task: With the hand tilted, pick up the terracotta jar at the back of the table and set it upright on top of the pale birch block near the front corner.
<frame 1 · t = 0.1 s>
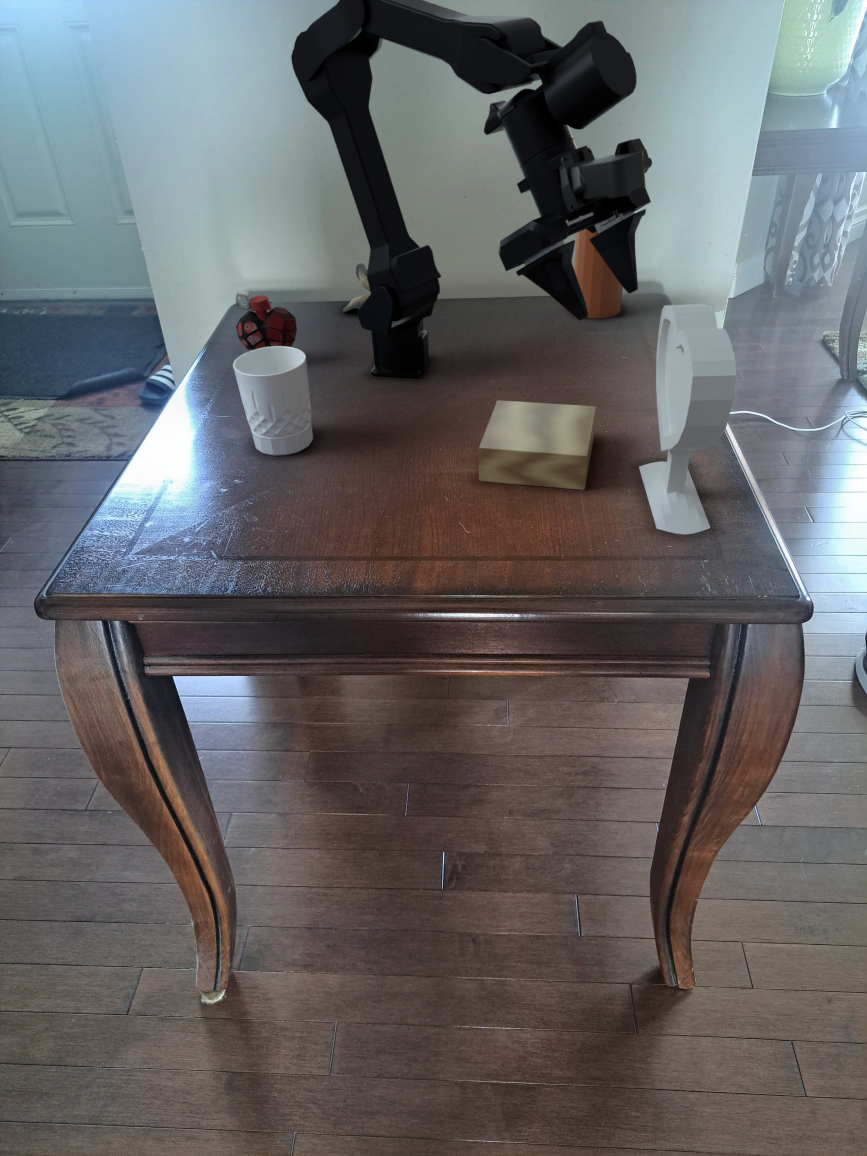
hand: (609, 304, 85), 15 cm above the table, tool tilted 35°, fingers open, 9 cm apart
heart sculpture: (672, 497, 83), on the table
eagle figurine: (372, 311, 129), on the table
white cup: (284, 443, 96), on the table
birch block: (538, 459, 90), on the table
jar: (596, 309, 124), on the table
grenade: (273, 364, 114), on the table
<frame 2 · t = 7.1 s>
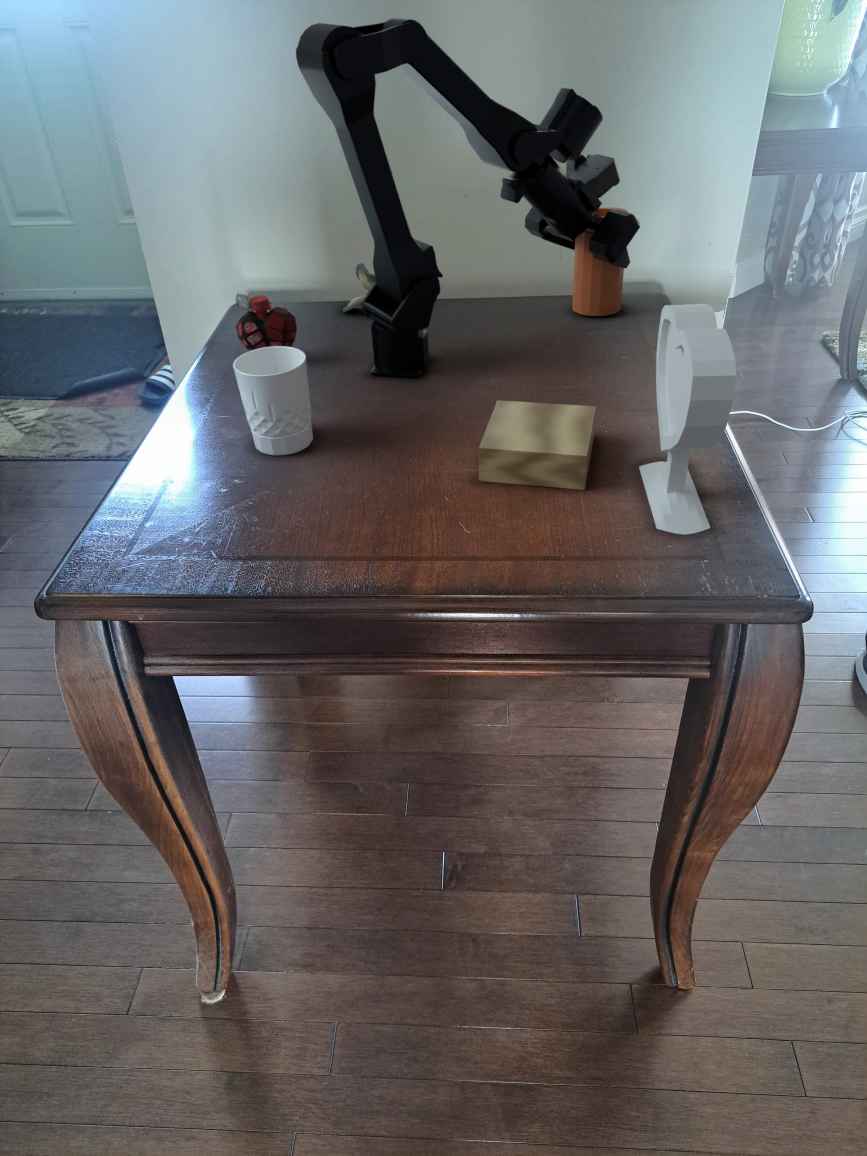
hand: (608, 258, 121), 7 cm above the table, tool tilted 45°, fingers closed on jar, 8 cm apart
jar: (596, 308, 124), on the table, touching gripper
everything else where it was.
when the fingers open (11 cm above the table, at t = 18.6 s): jar stays where it is, resting on birch block.
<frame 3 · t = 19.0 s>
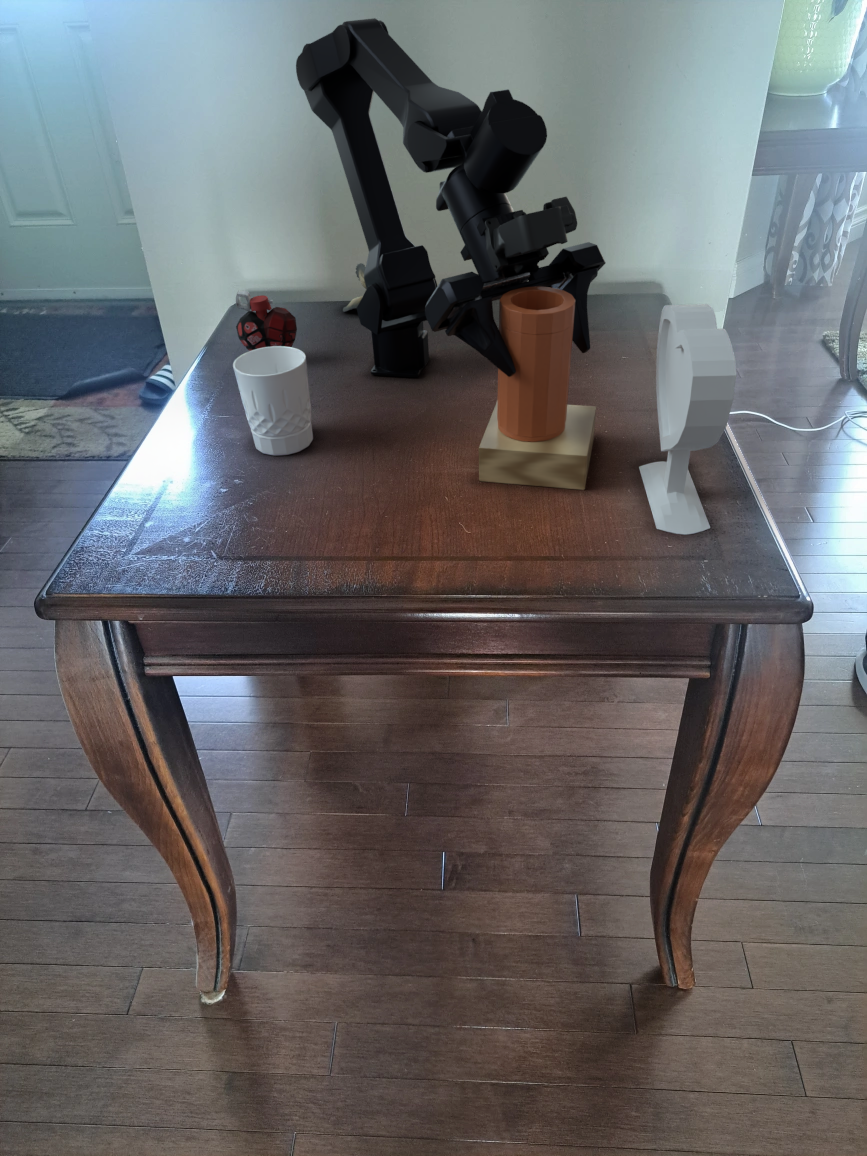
hand: (550, 362, 82), 12 cm above the table, tool tilted 45°, fingers open, 9 cm apart
jar: (531, 425, 88), point 4 cm above the table, touching birch block, gripper
everything else where it was.
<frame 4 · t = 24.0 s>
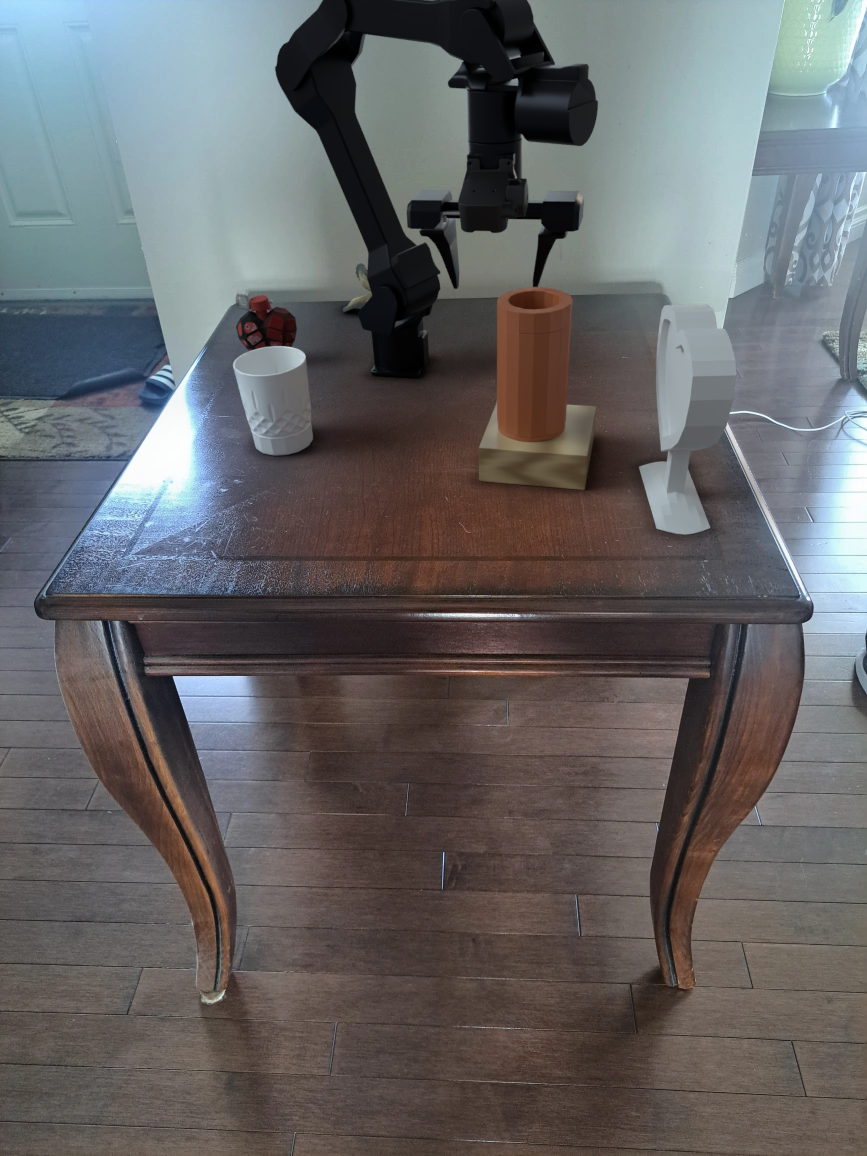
hand: (495, 289, 96), 13 cm above the table, tool pointing down, fingers open, 9 cm apart
jar: (531, 426, 88), point 4 cm above the table, touching birch block
everything else where it was.
at the end: jar inside the target area on the birch block (0.9 cm from its centre), point 4.0 cm above the birch block's base; jar tilted 0°; the gripper is holding nothing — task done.
